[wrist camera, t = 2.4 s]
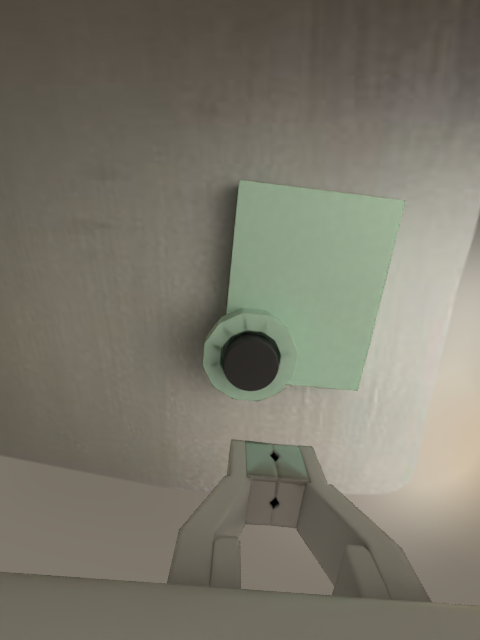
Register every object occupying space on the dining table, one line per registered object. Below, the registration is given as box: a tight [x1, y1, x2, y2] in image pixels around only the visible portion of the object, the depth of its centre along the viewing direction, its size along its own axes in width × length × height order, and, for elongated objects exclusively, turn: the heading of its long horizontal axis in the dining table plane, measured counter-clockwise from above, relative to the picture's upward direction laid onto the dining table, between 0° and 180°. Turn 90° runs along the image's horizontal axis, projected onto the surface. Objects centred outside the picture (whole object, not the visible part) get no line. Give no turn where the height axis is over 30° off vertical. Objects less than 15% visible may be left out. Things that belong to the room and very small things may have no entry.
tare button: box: [223, 333, 279, 391], centre depth 17 cm, size 4×4×2 cm
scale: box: [203, 180, 406, 401], centre depth 18 cm, size 12×15×3 cm
